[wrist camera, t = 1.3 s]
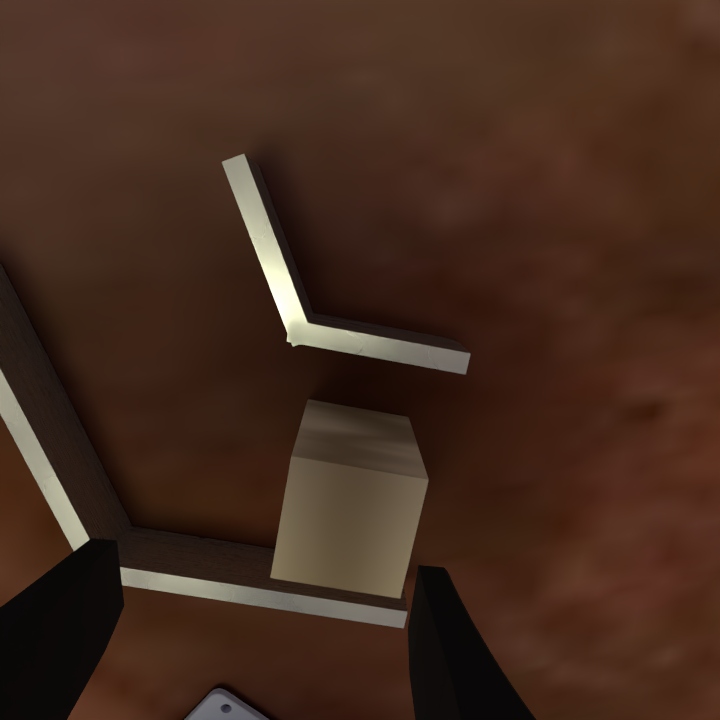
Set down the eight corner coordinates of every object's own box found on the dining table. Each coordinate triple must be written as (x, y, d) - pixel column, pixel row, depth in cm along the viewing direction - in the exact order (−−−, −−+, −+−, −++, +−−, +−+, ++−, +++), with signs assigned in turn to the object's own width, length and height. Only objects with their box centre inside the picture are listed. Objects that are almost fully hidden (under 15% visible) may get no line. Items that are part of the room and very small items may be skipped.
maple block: (408, 417, 22) (428, 479, 16) (387, 508, 23) (400, 598, 17) (307, 398, 22) (291, 456, 16) (291, 491, 23) (270, 578, 17)
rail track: (554, 426, 22) (582, 452, 19) (308, 673, 25) (303, 726, 22) (132, 53, 19) (94, 21, 16) (-102, 387, 21) (-168, 408, 19)
